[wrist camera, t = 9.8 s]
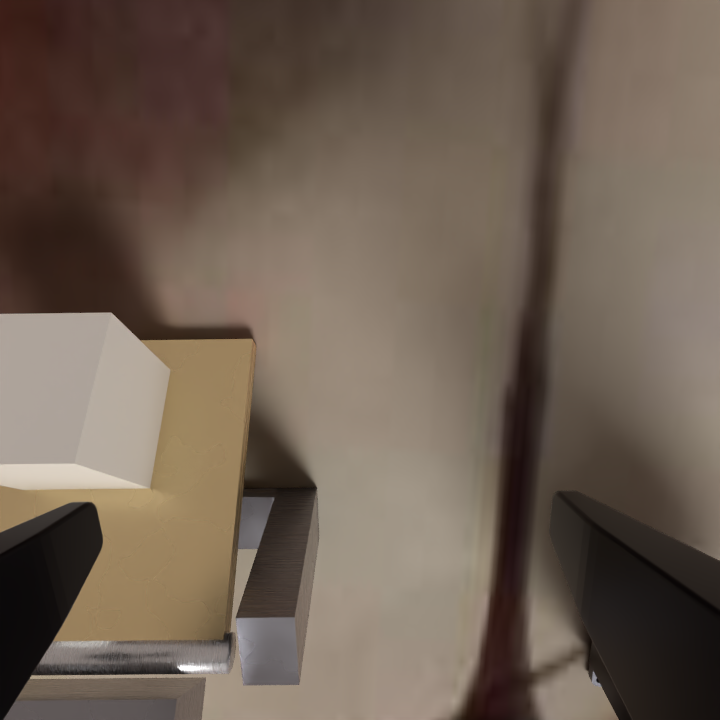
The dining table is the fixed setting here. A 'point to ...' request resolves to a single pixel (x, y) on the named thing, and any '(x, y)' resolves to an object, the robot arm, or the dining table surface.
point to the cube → (77, 403)
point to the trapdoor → (156, 555)
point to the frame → (276, 582)
